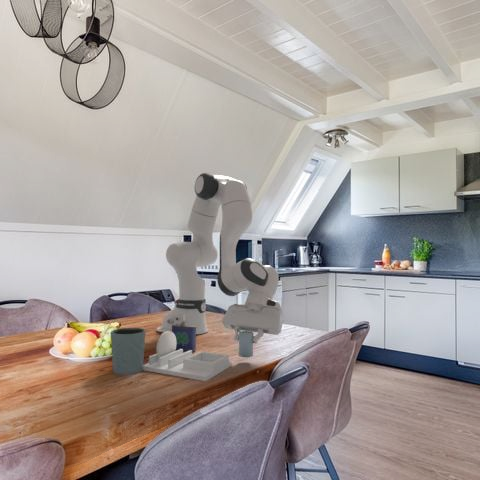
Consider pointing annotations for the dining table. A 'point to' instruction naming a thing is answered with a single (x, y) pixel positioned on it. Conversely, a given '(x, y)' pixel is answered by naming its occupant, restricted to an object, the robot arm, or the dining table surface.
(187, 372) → the rack
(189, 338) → the blue printed box
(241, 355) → the grey upright block
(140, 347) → the green cup
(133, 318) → the dining table surface
